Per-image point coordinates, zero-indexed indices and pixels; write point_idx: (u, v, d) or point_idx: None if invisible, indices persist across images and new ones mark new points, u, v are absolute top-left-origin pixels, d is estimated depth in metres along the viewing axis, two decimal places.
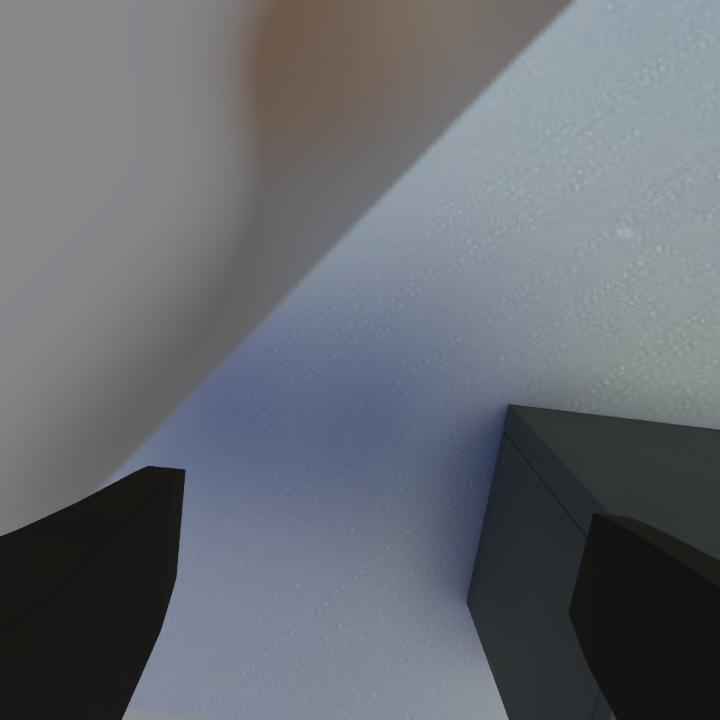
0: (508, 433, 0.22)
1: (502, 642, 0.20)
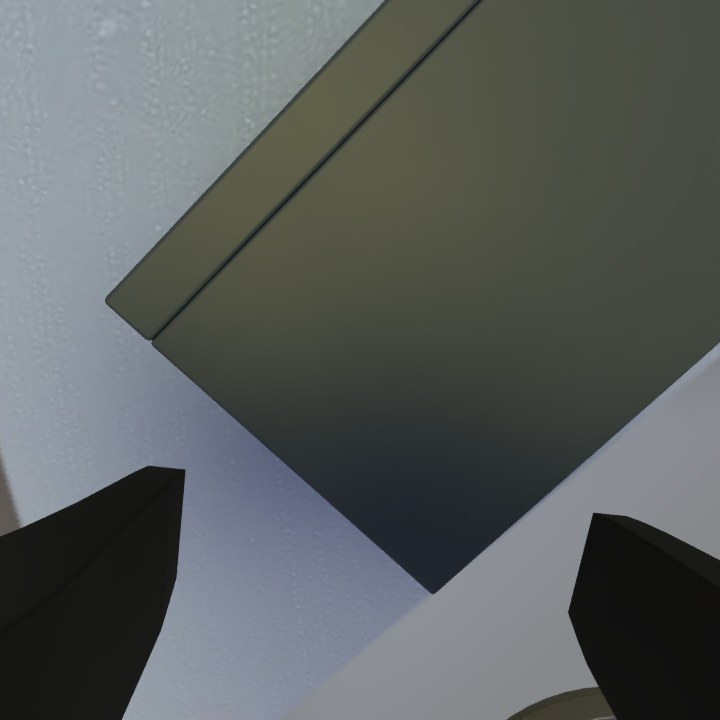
0: None
1: None
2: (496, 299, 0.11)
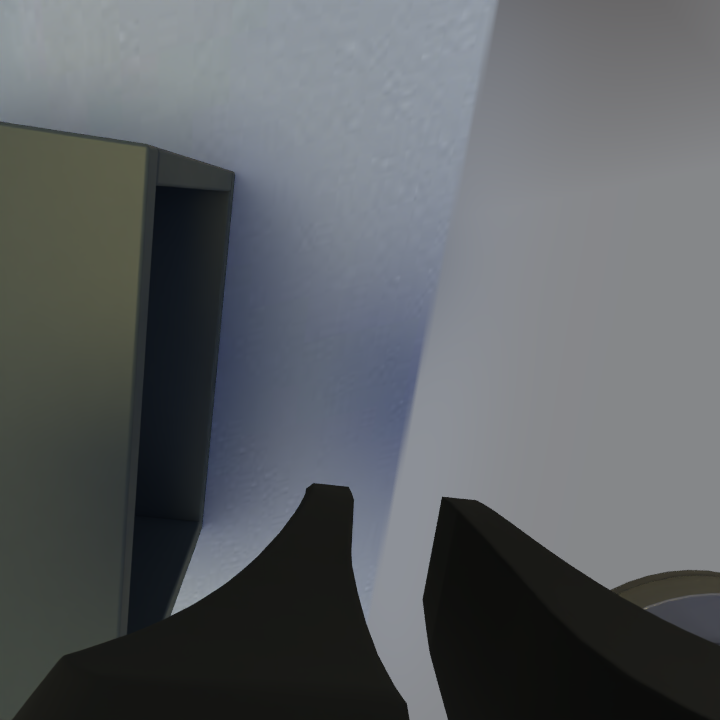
0: None
1: None
2: None
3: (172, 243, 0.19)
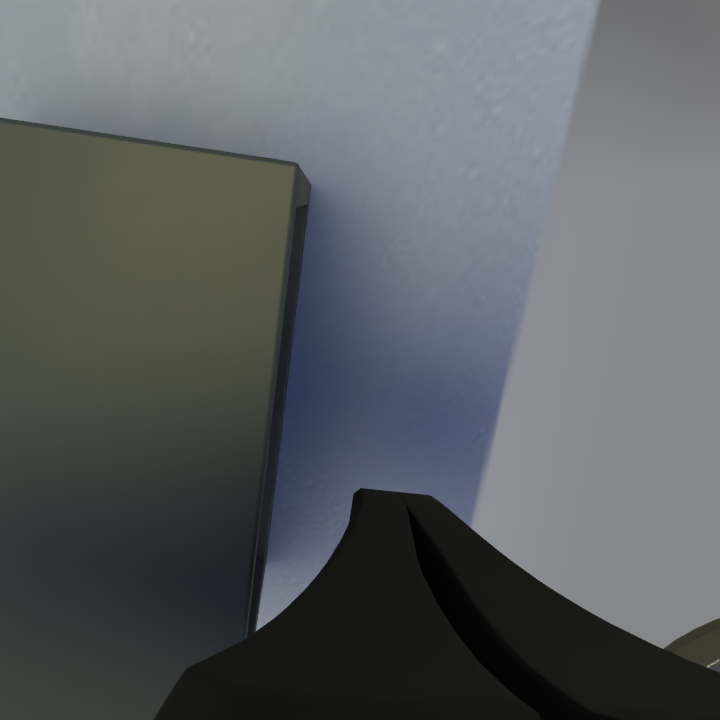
0: None
1: None
2: (9, 644, 0.09)
3: None
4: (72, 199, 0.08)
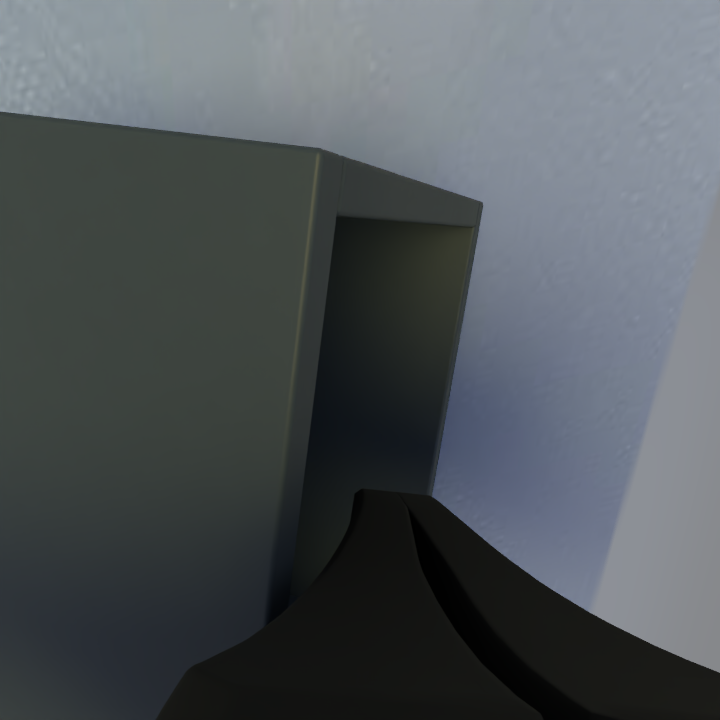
0: None
1: None
2: (20, 697, 0.08)
3: (399, 291, 0.15)
4: (76, 203, 0.07)
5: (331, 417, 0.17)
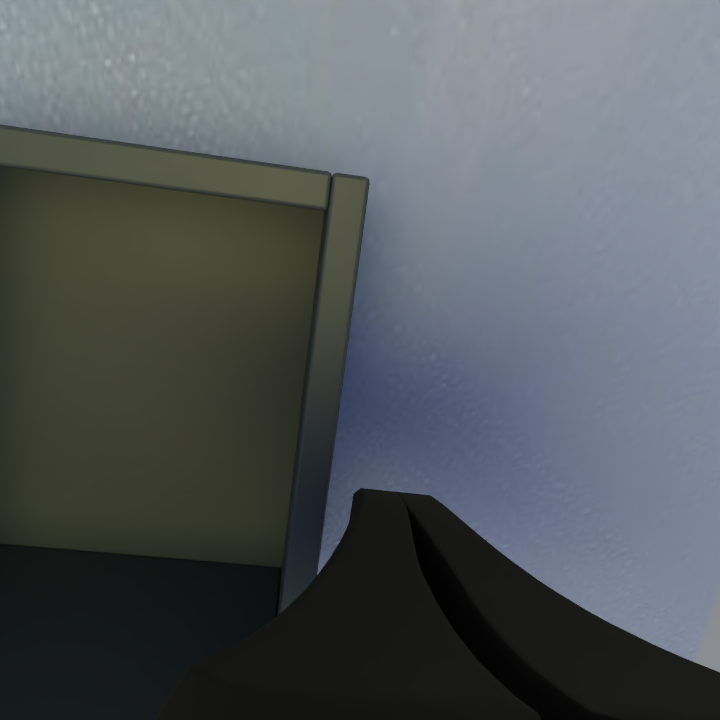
0: None
1: None
2: None
3: (315, 304, 0.12)
4: None
5: None
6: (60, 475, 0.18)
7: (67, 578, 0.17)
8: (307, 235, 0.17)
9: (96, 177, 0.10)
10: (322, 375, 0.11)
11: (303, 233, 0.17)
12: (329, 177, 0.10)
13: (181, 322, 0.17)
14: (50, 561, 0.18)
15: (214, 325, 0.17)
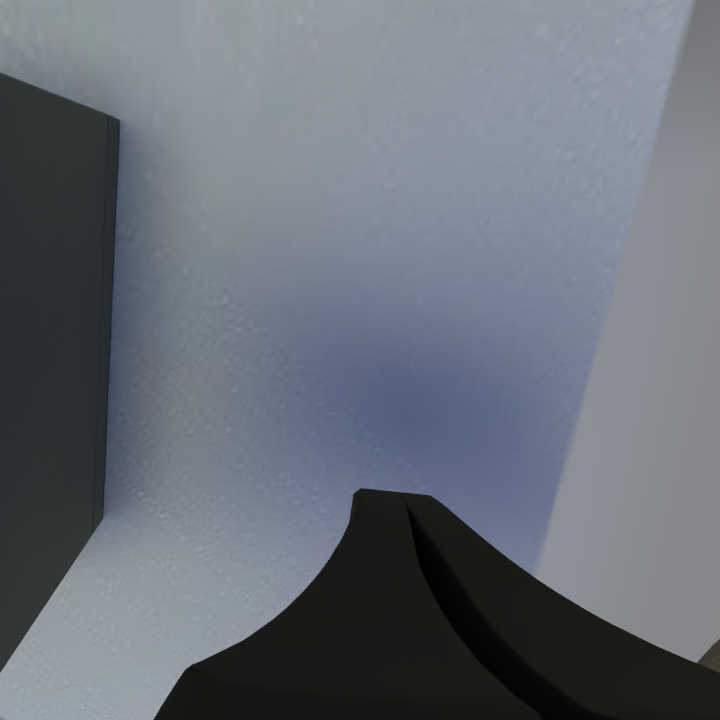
0: None
1: None
2: None
3: None
4: None
5: None
6: None
7: None
8: None
9: None
10: None
11: None
12: None
13: None
14: None
15: None
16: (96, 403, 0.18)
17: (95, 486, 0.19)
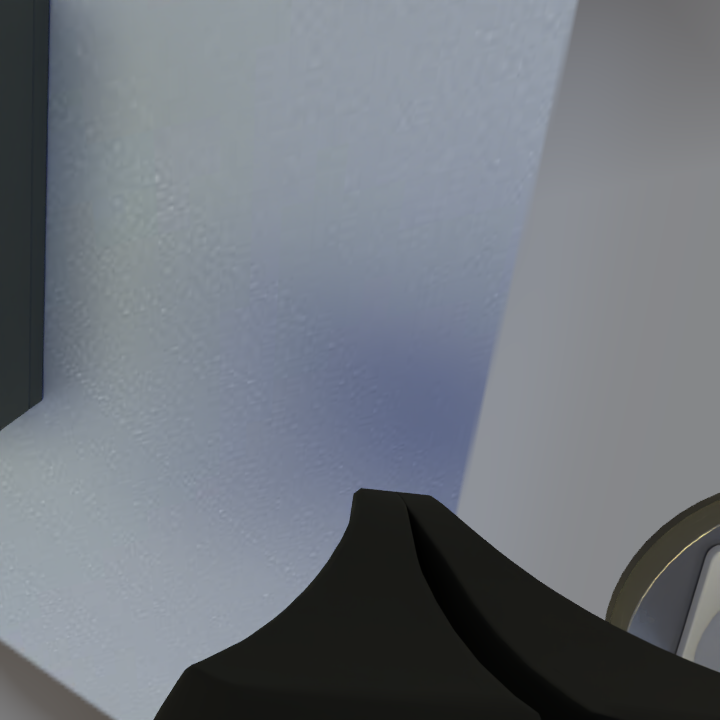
0: None
1: None
2: None
3: None
4: None
5: None
6: None
7: None
8: None
9: None
10: None
11: None
12: None
13: None
14: None
15: None
16: (29, 275, 0.19)
17: (31, 360, 0.19)
